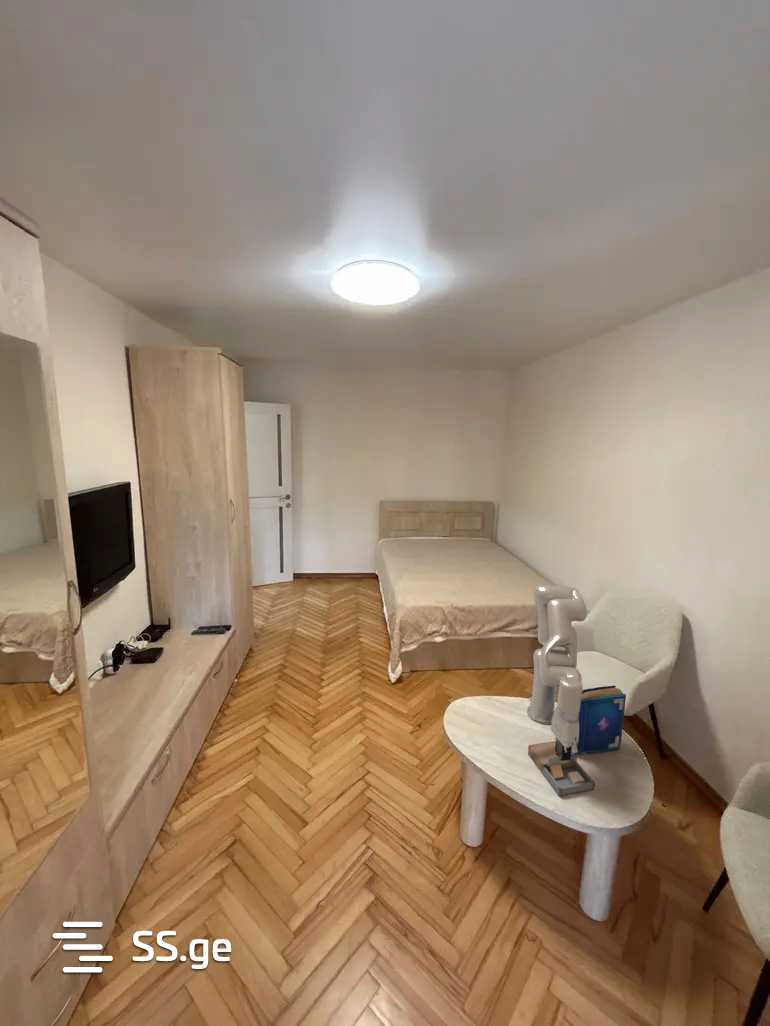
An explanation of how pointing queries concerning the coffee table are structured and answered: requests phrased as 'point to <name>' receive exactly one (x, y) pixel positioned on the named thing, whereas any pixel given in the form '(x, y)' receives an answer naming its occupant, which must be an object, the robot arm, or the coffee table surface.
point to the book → (601, 719)
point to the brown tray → (545, 755)
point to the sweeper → (560, 756)
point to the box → (565, 785)
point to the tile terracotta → (556, 771)
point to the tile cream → (575, 777)
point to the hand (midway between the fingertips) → (562, 754)
